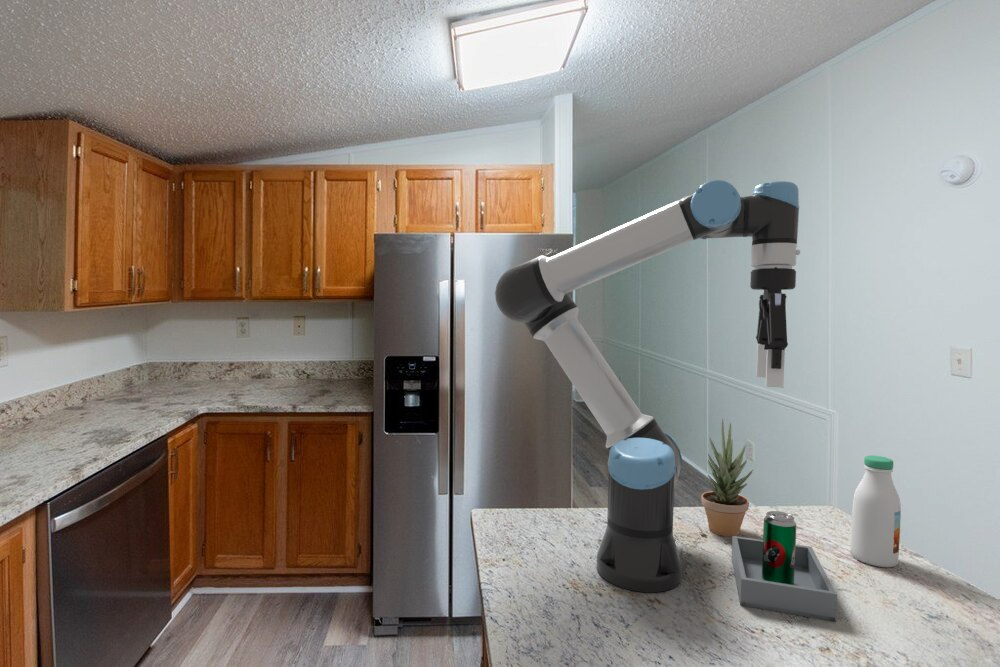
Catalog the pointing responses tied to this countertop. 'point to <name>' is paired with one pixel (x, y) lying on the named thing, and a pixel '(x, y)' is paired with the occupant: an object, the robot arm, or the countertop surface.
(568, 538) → the countertop surface
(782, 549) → the soda can
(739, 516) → the potted plant
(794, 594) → the bin
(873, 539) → the milk bottle
